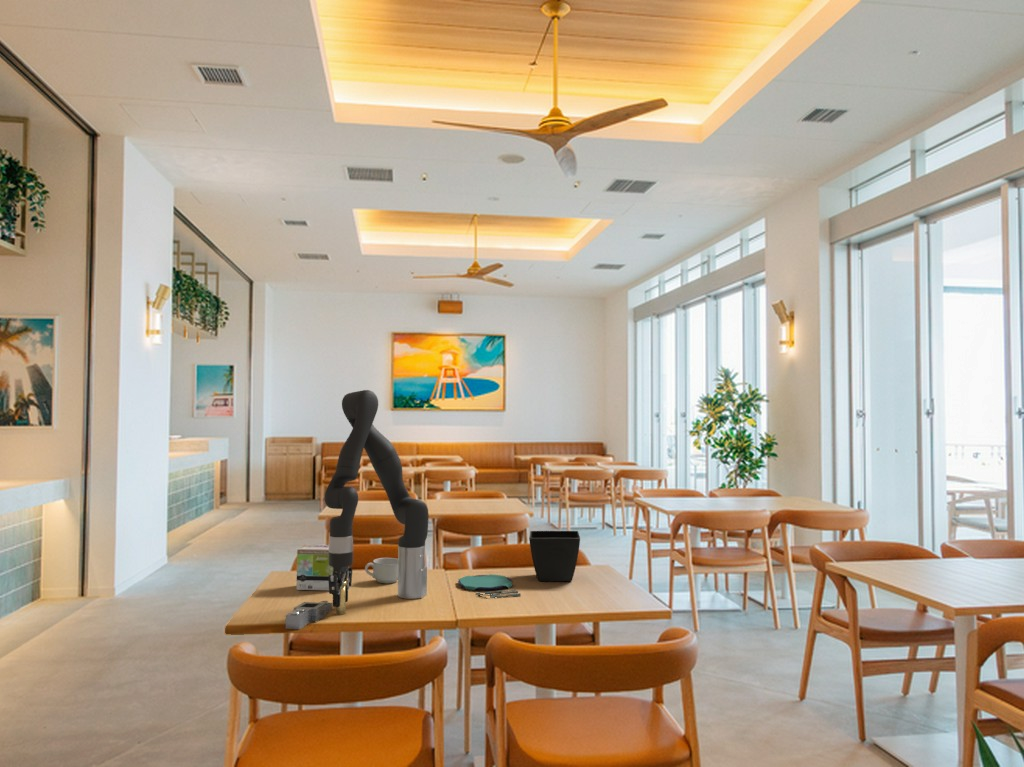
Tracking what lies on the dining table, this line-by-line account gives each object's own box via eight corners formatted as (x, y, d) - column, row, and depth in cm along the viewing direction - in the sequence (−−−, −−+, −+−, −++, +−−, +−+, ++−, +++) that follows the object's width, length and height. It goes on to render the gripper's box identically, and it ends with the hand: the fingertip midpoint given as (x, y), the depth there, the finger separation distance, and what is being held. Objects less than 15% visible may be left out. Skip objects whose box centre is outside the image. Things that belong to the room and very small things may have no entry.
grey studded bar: (336, 609, 246) (336, 594, 247) (304, 629, 224) (304, 613, 224) (315, 608, 248) (315, 594, 248) (281, 628, 225) (281, 612, 225)
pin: (348, 612, 243) (348, 580, 243) (343, 615, 239) (344, 583, 239) (337, 611, 244) (337, 580, 244) (332, 614, 240) (332, 582, 240)
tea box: (295, 591, 271) (296, 549, 272) (303, 584, 282) (303, 544, 282) (338, 591, 272) (338, 549, 272) (344, 584, 282) (344, 544, 282)
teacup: (399, 577, 293) (399, 556, 294) (404, 583, 283) (404, 562, 283) (362, 580, 289) (362, 558, 289) (366, 586, 279) (366, 564, 279)
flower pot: (530, 572, 303) (530, 529, 303) (578, 573, 302) (578, 530, 302) (529, 583, 284) (529, 537, 284) (580, 584, 283) (580, 538, 283)
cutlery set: (504, 578, 293) (504, 572, 293) (526, 598, 264) (526, 591, 264) (453, 582, 288) (453, 575, 288) (469, 602, 259) (469, 595, 259)
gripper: (343, 554, 234) (342, 610, 234) (360, 546, 248) (360, 599, 248) (320, 553, 236) (319, 609, 235) (338, 545, 250) (338, 598, 249)
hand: (340, 603), depth 241 cm, fingers open, 5 cm apart
